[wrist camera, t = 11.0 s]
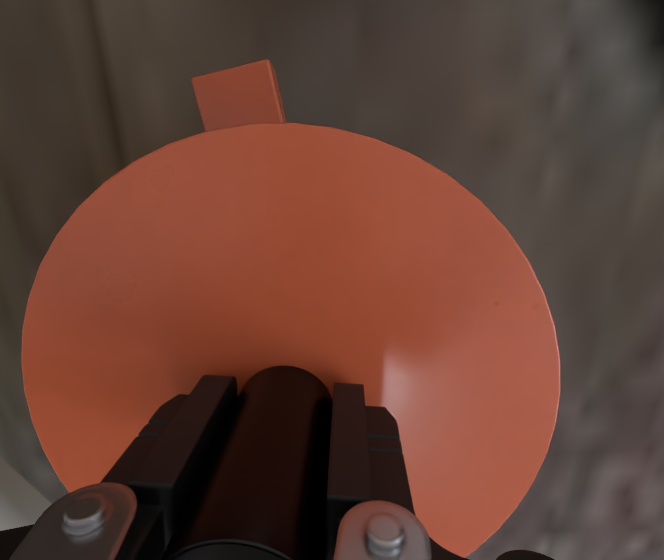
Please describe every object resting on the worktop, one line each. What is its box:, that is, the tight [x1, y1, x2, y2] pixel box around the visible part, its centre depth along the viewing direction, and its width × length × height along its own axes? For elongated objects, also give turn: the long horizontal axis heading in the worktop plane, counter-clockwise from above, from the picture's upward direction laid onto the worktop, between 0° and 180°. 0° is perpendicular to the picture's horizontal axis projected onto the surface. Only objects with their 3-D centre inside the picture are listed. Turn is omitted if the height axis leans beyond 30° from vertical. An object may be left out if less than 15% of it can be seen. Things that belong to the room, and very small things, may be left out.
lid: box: [21, 123, 560, 560], centre depth 8 cm, size 13×13×6 cm
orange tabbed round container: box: [191, 59, 287, 132], centre depth 17 cm, size 12×18×8 cm
